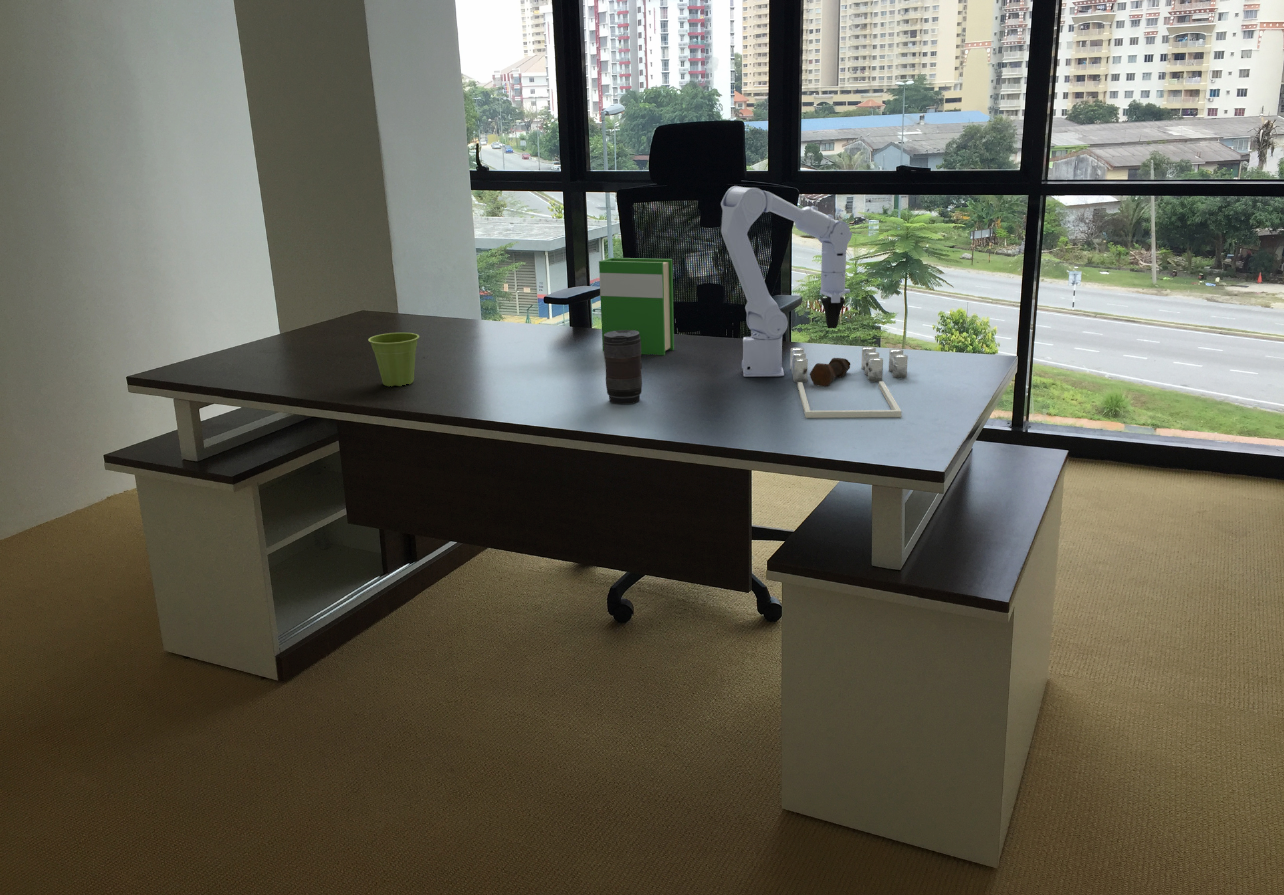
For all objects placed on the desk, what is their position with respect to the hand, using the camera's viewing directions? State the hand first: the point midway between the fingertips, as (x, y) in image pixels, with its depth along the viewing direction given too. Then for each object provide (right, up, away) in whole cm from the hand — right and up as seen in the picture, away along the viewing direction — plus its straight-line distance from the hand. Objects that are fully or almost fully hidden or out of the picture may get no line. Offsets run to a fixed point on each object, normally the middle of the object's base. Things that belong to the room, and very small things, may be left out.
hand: (831, 327), depth 248 cm
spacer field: (+2, -12, -7) cm, 14 cm away
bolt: (-2, -13, -10) cm, 17 cm away
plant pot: (-105, -14, -2) cm, 105 cm away
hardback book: (-47, -3, +26) cm, 54 cm away
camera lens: (-50, -19, -24) cm, 58 cm away
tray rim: (-2, -19, -30) cm, 35 cm away
